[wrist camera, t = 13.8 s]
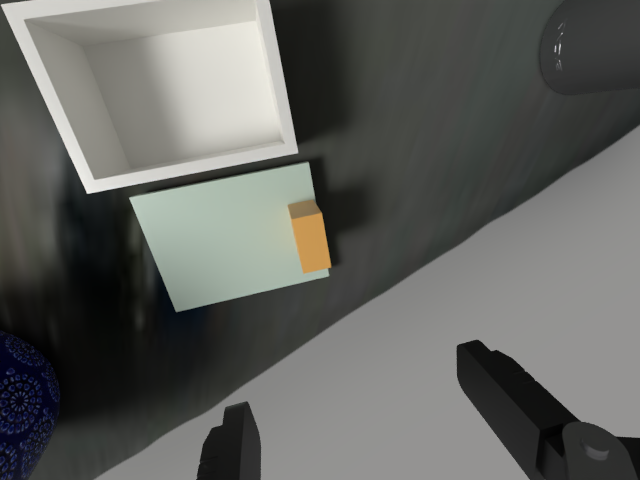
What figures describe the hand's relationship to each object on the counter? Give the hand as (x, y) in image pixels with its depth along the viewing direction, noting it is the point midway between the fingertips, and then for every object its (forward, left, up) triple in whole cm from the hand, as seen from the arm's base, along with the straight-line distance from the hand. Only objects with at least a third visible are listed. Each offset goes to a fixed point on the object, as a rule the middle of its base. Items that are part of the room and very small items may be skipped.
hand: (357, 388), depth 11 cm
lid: (+6, 0, -22) cm, 23 cm away
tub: (+7, -13, -22) cm, 26 cm away
